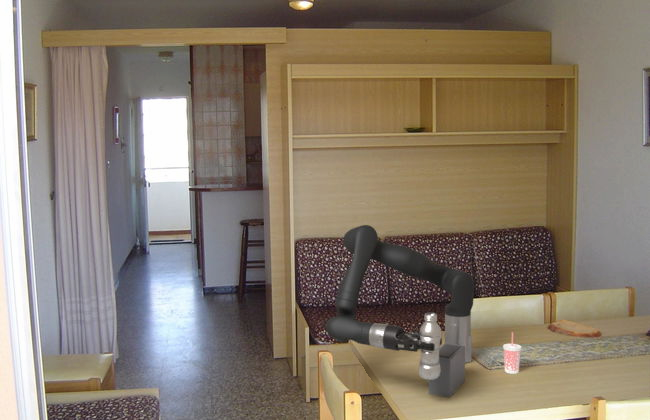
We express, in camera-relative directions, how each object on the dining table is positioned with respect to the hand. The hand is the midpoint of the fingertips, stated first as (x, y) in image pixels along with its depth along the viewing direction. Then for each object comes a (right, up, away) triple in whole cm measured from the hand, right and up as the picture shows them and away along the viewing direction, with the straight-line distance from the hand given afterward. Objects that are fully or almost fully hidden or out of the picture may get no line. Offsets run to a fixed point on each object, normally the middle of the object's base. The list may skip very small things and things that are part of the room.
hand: (437, 344), depth 200 cm
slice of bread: (+70, -11, +78) cm, 105 cm away
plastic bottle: (-2, -11, +2) cm, 11 cm away
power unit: (+6, -17, +17) cm, 25 cm away
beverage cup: (+31, -16, +31) cm, 47 cm away
